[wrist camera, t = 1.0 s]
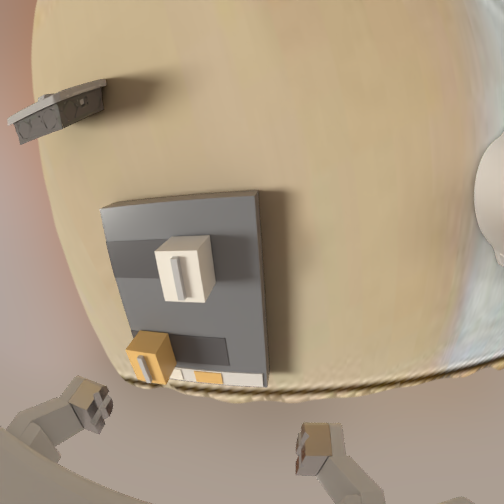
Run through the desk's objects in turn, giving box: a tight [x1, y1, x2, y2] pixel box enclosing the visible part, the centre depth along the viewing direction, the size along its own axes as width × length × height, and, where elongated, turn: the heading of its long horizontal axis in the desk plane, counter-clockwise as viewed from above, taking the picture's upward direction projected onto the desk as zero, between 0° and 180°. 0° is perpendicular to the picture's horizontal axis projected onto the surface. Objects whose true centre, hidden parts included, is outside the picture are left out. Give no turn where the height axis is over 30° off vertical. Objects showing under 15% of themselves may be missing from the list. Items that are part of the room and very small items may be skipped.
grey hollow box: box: [8, 79, 107, 144], centre depth 23 cm, size 9×5×9 cm, turn 92°
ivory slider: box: [154, 235, 216, 303], centre depth 27 cm, size 4×5×5 cm
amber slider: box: [126, 330, 177, 385], centre depth 32 cm, size 4×5×5 cm
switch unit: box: [100, 190, 269, 387], centre depth 33 cm, size 17×24×3 cm
